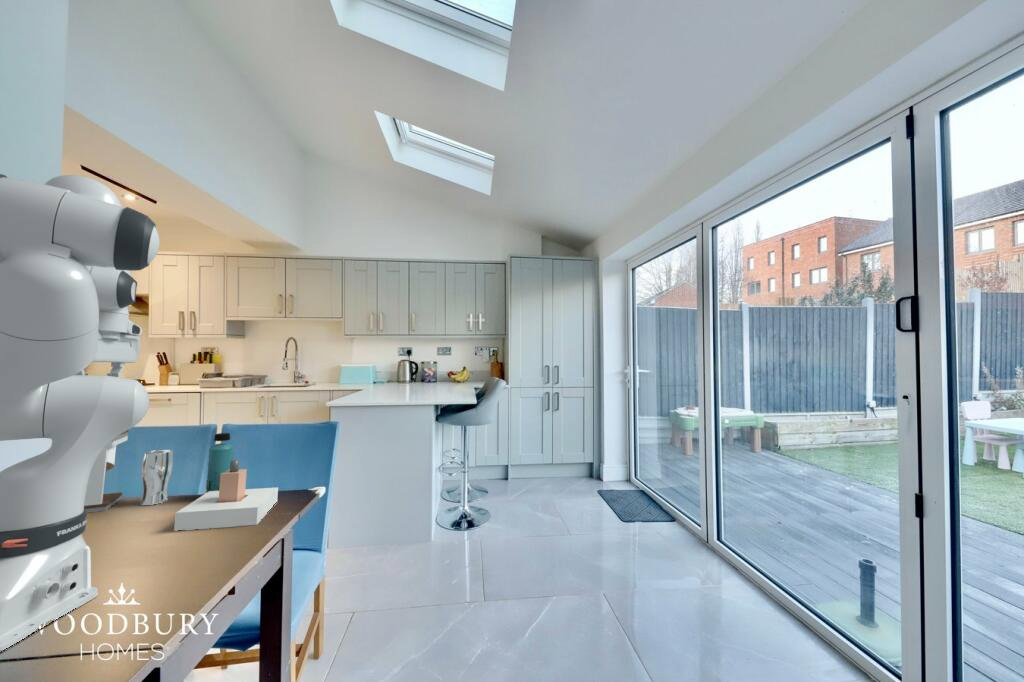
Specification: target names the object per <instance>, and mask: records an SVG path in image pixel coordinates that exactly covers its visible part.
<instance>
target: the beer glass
mask: <svg viewBox="0 0 1024 682" xmlns="http://www.w3.org/2000/svg"><path fill="white" fill-rule="evenodd" d="M173 463H174V450H173V449H157V450H150V451H146V452H143V457H142V463H141V482H142V491H143V492H142V497H141V501H140V504H139V505H140V506H142V505H151V506H154V505H153V504H157V505H159V504H158V503H161V504H164V503H166V502H168V501H169V500H168V498H169V497H168V485H169V481H170V478H171V474H172V471H173V465H174V464H173ZM167 497H168V498H167ZM165 501H166V502H165ZM163 502H164V503H163Z"/></svg>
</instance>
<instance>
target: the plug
mask: <svg viewBox="0 0 1024 682" xmlns="http://www.w3.org/2000/svg"><path fill="white" fill-rule="evenodd" d="M239 467H240V459H233V460H231V461H230V470H228V471H225V472H223V473H221V475H220V488H219V500H218V503H225V502H240V501H242V500H243V499H244V498H245V489H246V486H247V485H246V484H247V472H248V471H247V470H248V469H247V468H243V469H239Z"/></svg>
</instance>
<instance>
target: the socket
mask: <svg viewBox="0 0 1024 682" xmlns="http://www.w3.org/2000/svg"><path fill="white" fill-rule="evenodd" d="M278 494H279V487H264V488H245V498H244V499H243V500H242V501H240V502H225V503H218V500H219V491H209V492H208V493H206V492H205V494H203V495H201V496H200V497H198V498H197V499H195V500H194V501H192V502H190V503H189V504H187V505H186V506H184V507H183V508H180V509H179V510H178V511H175V516H174V517H175V518H174V525H173V526H174V529H173V531H174V532H179V531H178V530H186V531H196V530H195V529H199V530H208V529H209V530H210V528H211V529H221V528H235V527H246V526H247V527H248V526H257V525H258V524H259V523H260V522H261V521H262V520H261V519H264V518H265V516H267V515H268V513H269V512H270V511H271V510H272V509H273V508H274V507H273V505H274V504H275V503H276V502H277V503H278V496H279V495H278ZM277 503H276V504H277ZM276 504H275V505H276ZM275 505H274V506H275ZM272 507H273V508H272ZM271 508H272V509H271ZM270 509H271V510H270ZM269 510H270V511H269ZM268 511H269V512H268ZM267 512H268V513H267Z"/></svg>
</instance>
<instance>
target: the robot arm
mask: <svg viewBox="0 0 1024 682" xmlns="http://www.w3.org/2000/svg"><path fill="white" fill-rule="evenodd" d="M160 240H161V239H160V235H159V232H158V229H157V227H156V223H155V222H154V221H153V220H152V219H151V218H150V217H149V216H148V215H146V214H144V213H142V212H141V211H138V210H136V209H134V208H131V207H128V206H126V207H123V205H122V203H121V201H120V200H119V198H118V197H117V194H115V193H114V191H113V190H111V188H110V187H108V186H107V185H106V184H104V183H102V182H100V181H98V180H96V179H93V178H91V177H87V176H83V175H77V174H65V175H59V176H55V177H52V178H50V179H49V180H47V181H46V182H45V183H40V182H34V181H29V180H24V179H23V180H22V179H19V178H18V179H17V178H11V177H7V175H5V174H2V173H0V442H3V441H18V440H33V439H50V440H51V441H52V442H51V445H50V447H49V448H48V449H47V450H46V451H44V452H42V453H40V454H37V455H35V456H32V457H29V458H27V459H24V460H21V461H20V462H17V463H15V464H12V465H11V466H8V467H6V468H4V469H2V470H0V650H4V649H6V648H8V647H10V646H11V645H13V644H14V643H16V642H19V641H20V640H22V639H24V638H25V637H26V636H28V635H30V634H31V633H32V632H34V631H35V630H36V629H37V628H38V627H39V626H40V625H41V624H43V623H45V622H48V621H50V620H53V619H56V618H58V617H61V616H63V615H64V616H66V615H68V614H69V613H71V612H73V611H74V610H76V609H78V608H80V607H81V606H83V605H85V604H86V603H89V601H91V600H93V599H95V598H96V597H97V596H99V595H98V594H99V590H98V588H97V587H95V586H92V572H91V571H92V560H91V559H92V558H91V548H90V546H89V545H88V544H87V543H86V540H85V539H84V537H83V533H84V532H85V531H86V528H87V527H86V526H87V525H86V524H87V523H88V517H87V514H88V513H87V511H86V510H84V502H85V495H86V489H87V484H88V480H89V476H90V472H91V469H92V467H93V465H94V463H95V461H96V459H97V458H98V456H99V455H100V453H101V452H102V451H103V450H104V448H105V447H106V446H107V445H108V444H109V443H111V442H112V441H113V440H114V439H115V438H117V437H118V436H119V435H121V434H122V433H124V432H125V431H127V430H128V431H129V430H130V429H132V428H134V427H135V426H136V425H138V424H139V423H140V422H141V421H142V420H143V419H144V418H145V416H146V415H147V412H148V410H149V407H150V397H149V392H148V391H147V389H146V388H145V387H144V385H143V384H142V383H141V382H140V381H138V380H136V379H133V378H132V379H131V378H125V377H120V376H121V375H120V374H121V373H122V371H123V370H124V369H125V367H126V366H125V364H135V363H137V361H138V359H139V356H140V351H141V350H140V349H141V339H140V337H139V336H142V334H143V328H142V327H141V326H139V325H138V324H136V323H135V322H133V321H132V320H130V312H129V306H131V305H132V304H134V303H136V295H137V287H138V281H136V280H135V278H133V276H132V275H131V273H132V271H134V272H135V271H142V270H144V269H146V268H147V267H149V266H150V263H152V261H153V260H154V259H155V258H156V256H157V254H158V252H159V250H160V245H161V244H160V242H161V241H160ZM92 363H111V364H110V367H111V370H110V372H109V373H107V375H98V374H97V375H96V374H95V375H88V373H86V372H85V369H86V368H87V367H89V365H91V364H92ZM75 608H76V609H75ZM73 609H74V610H73ZM72 610H73V611H72ZM70 611H71V612H70ZM68 612H69V613H68ZM67 613H68V614H67ZM65 614H66V615H65ZM64 616H63V617H64ZM61 618H62V617H61ZM30 636H31V635H30ZM25 639H26V638H25ZM25 639H24V640H25ZM22 641H23V640H22ZM20 642H21V641H20ZM20 642H19V643H20ZM13 646H14V645H13ZM10 648H11V647H10ZM8 649H9V648H8ZM6 650H7V649H6Z"/></svg>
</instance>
